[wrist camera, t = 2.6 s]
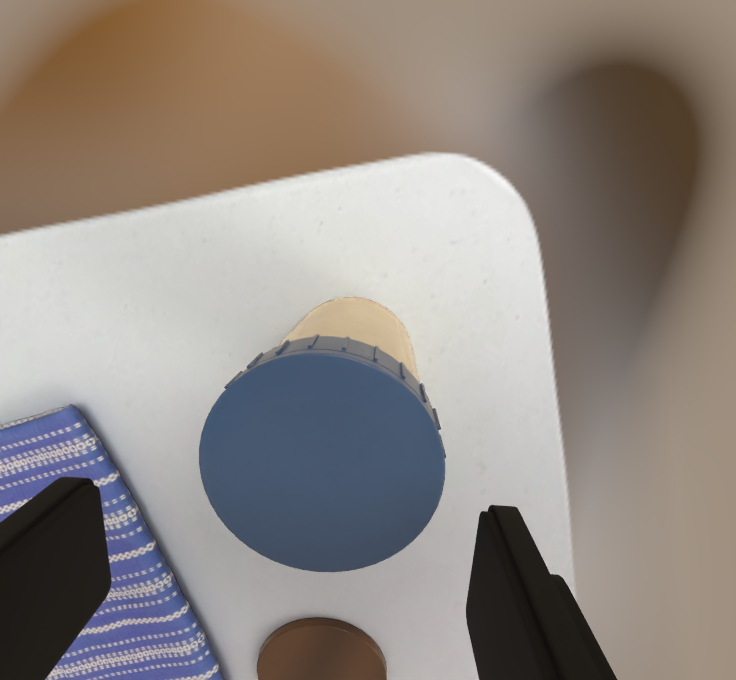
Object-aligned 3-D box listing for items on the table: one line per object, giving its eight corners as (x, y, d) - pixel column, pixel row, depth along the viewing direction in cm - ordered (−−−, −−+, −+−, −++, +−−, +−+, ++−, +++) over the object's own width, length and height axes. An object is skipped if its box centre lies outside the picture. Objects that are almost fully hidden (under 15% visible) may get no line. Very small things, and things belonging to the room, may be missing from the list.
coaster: (390, 623, 28) (391, 631, 27) (382, 719, 30) (382, 729, 29) (258, 612, 28) (255, 620, 27) (260, 708, 30) (257, 718, 30)
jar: (418, 301, 22) (446, 364, 12) (407, 417, 24) (424, 562, 13) (291, 292, 22) (208, 348, 12) (290, 409, 24) (217, 546, 13)
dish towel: (40, 728, 32) (7, 775, 29) (-146, 468, 26) (-208, 496, 23) (243, 686, 30) (228, 733, 27) (88, 394, 24) (50, 416, 21)
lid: (450, 341, 13) (461, 360, 11) (428, 539, 15) (434, 583, 13) (217, 326, 13) (189, 342, 11) (225, 523, 15) (202, 564, 13)
